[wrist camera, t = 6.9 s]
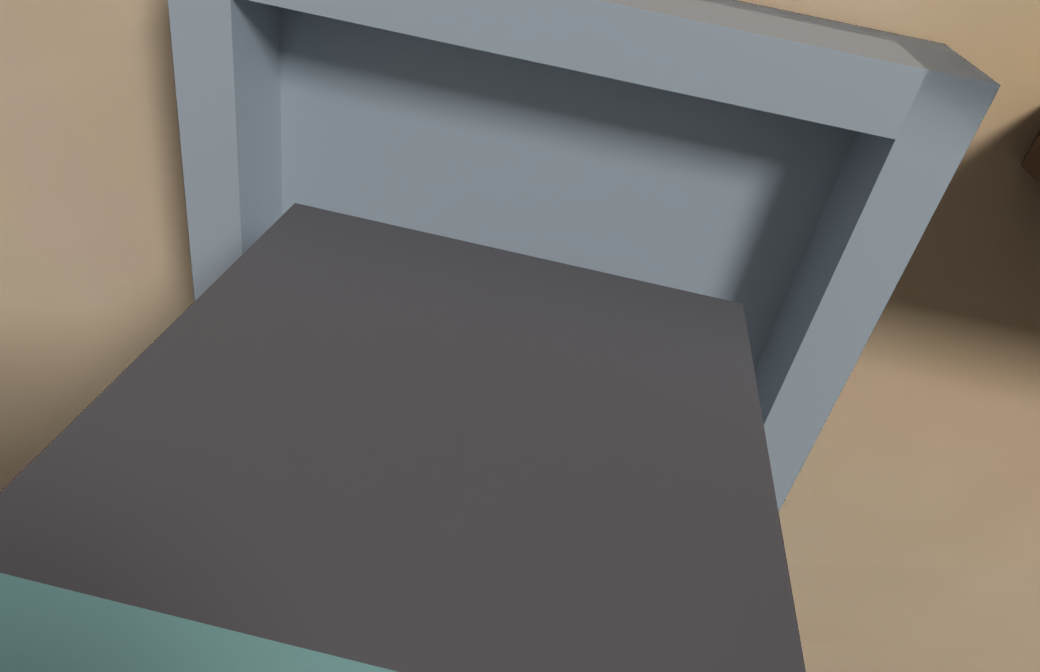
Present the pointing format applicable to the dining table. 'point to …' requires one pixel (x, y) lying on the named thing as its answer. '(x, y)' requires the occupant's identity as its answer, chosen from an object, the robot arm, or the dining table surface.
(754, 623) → the teal rectangular block
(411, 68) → the tray
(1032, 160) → the bay
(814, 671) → the dining table surface
